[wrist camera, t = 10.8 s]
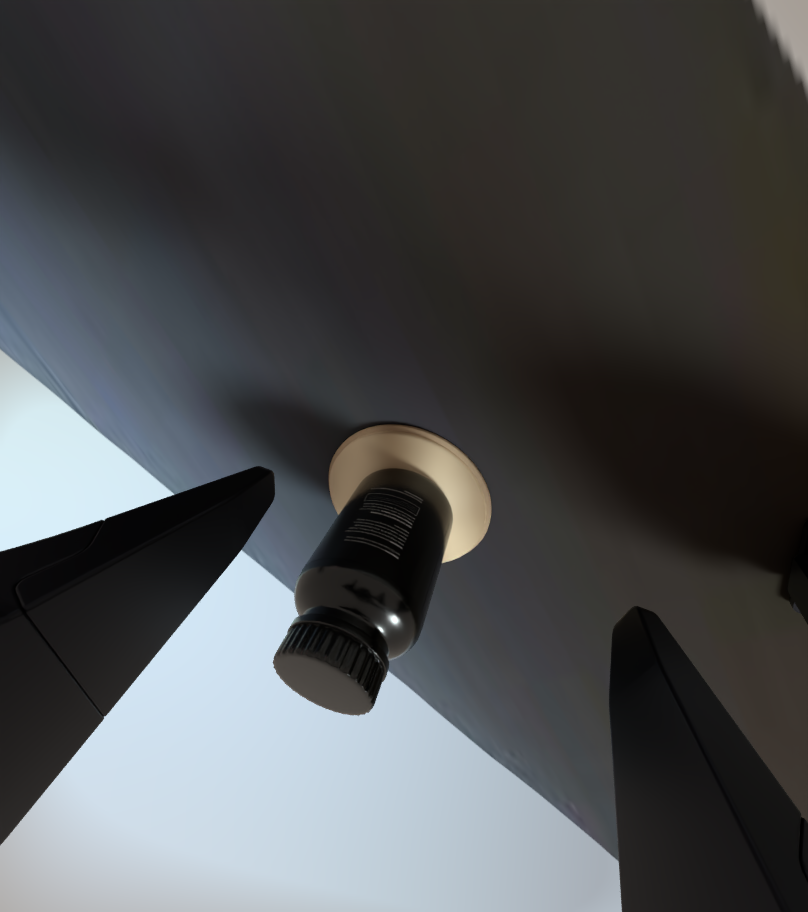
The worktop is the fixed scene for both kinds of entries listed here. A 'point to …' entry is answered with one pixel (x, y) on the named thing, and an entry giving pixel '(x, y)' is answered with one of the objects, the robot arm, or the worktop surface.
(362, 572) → the supplement bottle
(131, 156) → the worktop surface
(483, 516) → the coaster
